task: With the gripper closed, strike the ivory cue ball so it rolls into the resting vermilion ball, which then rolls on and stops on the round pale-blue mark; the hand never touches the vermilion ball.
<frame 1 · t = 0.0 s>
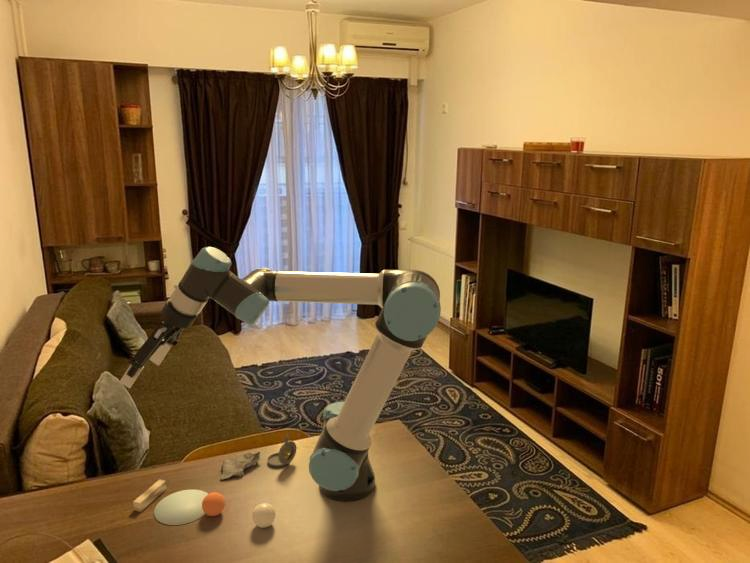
hand: (140, 372, 134), 36 cm above the table, tool tilted 35°, fingers open, 13 cm apart
cue ball: (263, 515, 134), on the table
pocket watch: (281, 463, 161), on the table
mineral specimen: (238, 471, 157), on the table
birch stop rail: (150, 499, 144), on the table
object ball: (213, 504, 138), on the table
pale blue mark: (183, 506, 141), on the table
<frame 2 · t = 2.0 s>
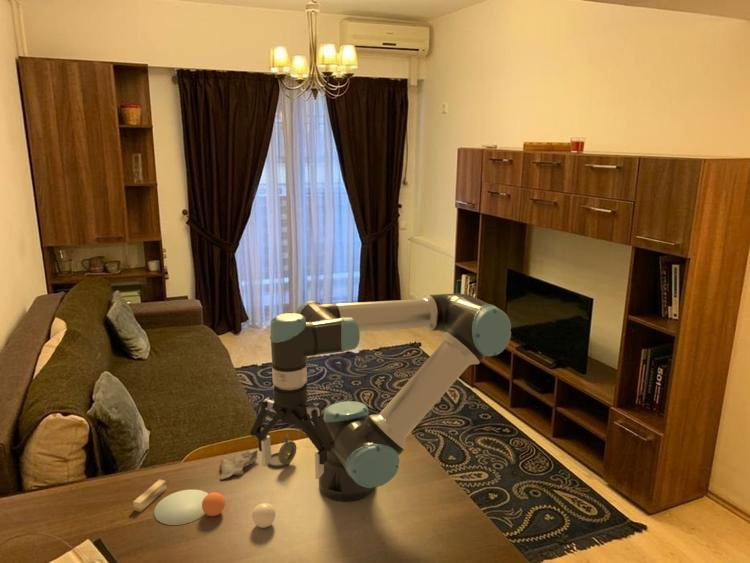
hand: (292, 469, 128), 17 cm above the table, tool pointing down, fingers open, 13 cm apart
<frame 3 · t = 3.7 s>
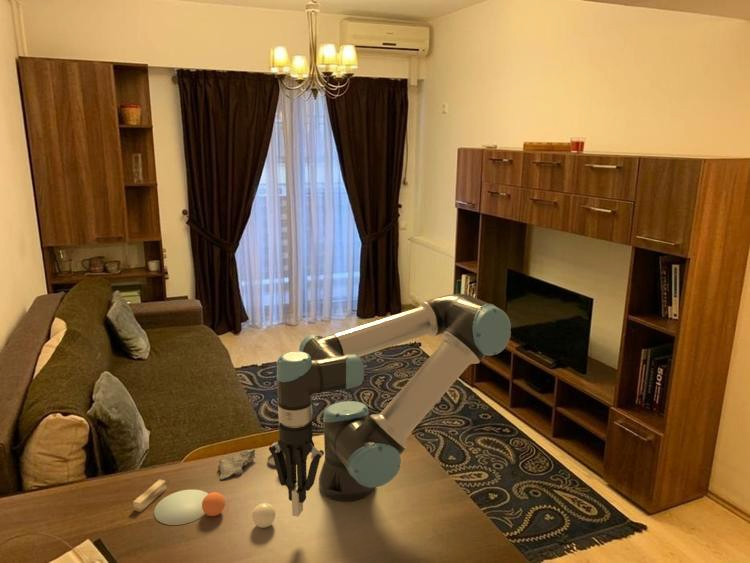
hand: (297, 512, 130), 6 cm above the table, tool pointing down, fingers closed
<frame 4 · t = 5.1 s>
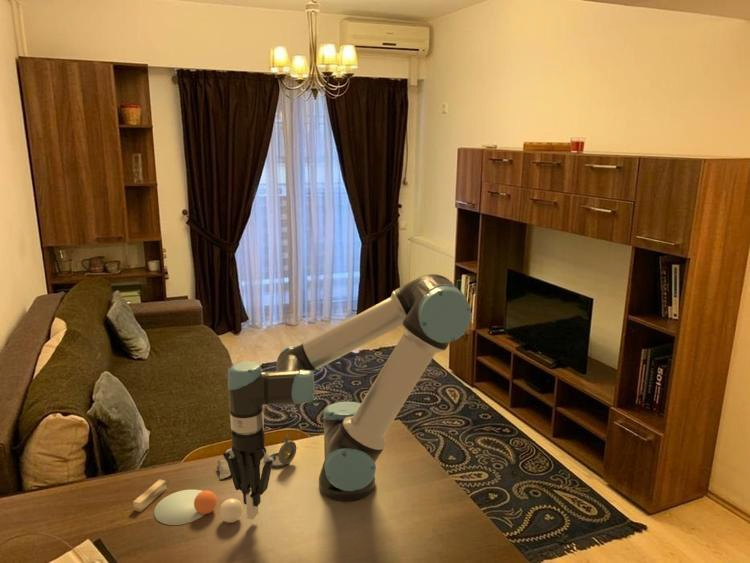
hand: (252, 515, 135), 2 cm above the table, tool pointing down, fingers closed
cue ball: (231, 510, 136), on the table
object ball: (205, 502, 139), on the table
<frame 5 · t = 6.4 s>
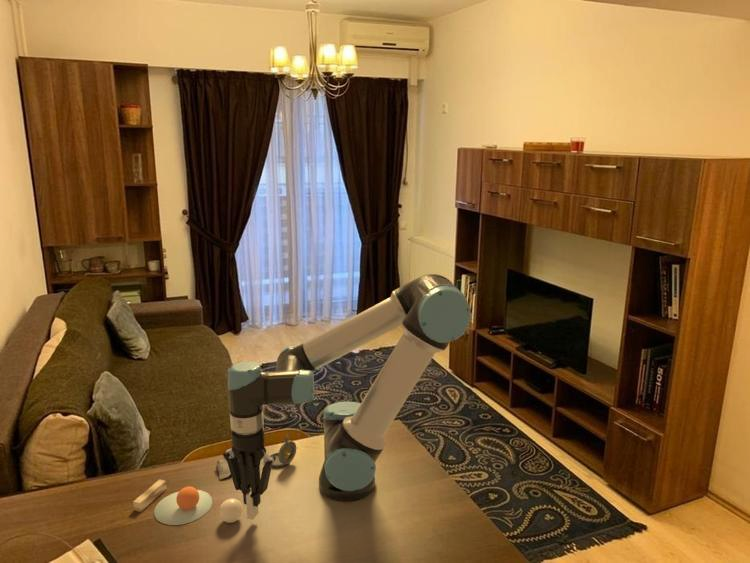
hand: (252, 515, 135), 2 cm above the table, tool pointing down, fingers closed
object ball: (187, 498, 140), on the table
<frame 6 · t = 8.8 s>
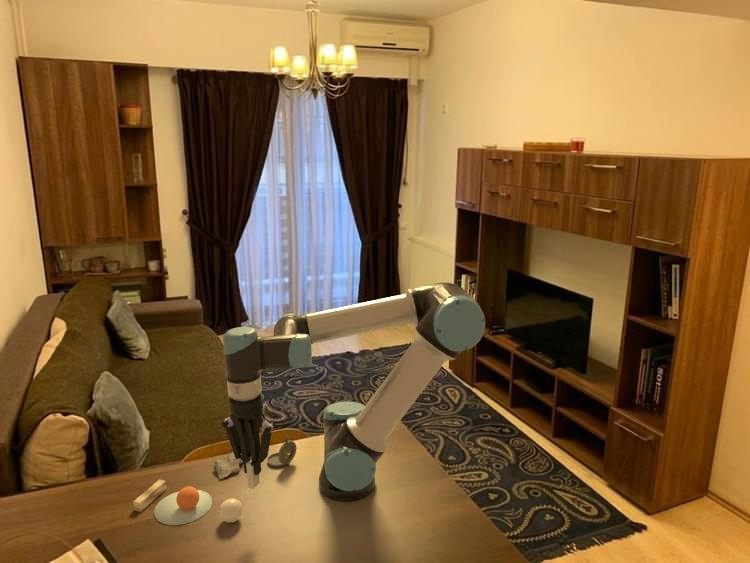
hand: (254, 485, 133), 10 cm above the table, tool pointing down, fingers closed
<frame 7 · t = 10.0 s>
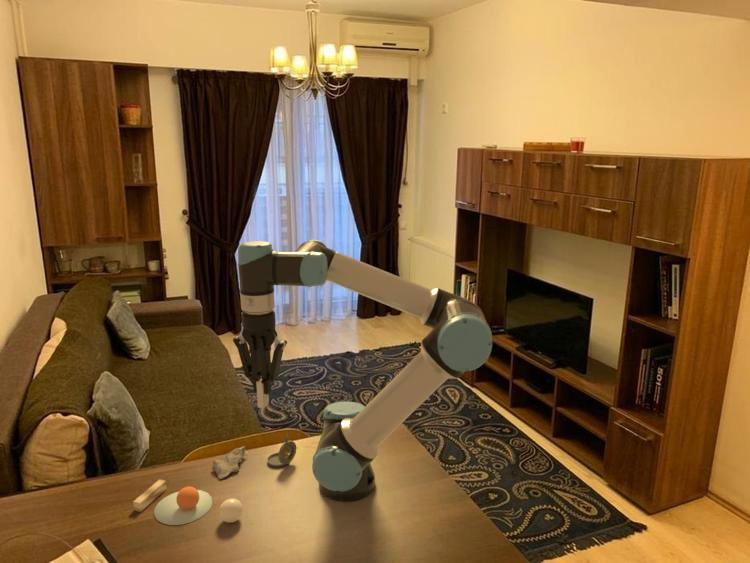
hand: (263, 405, 132), 29 cm above the table, tool pointing down, fingers closed
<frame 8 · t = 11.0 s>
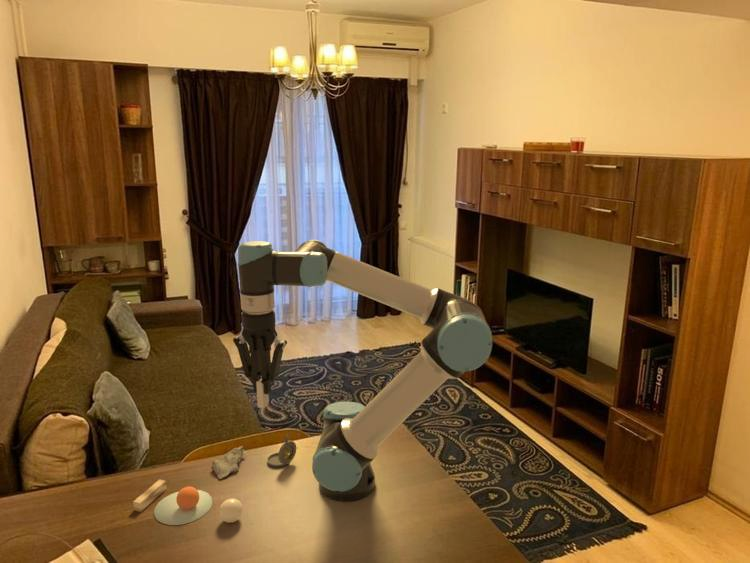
hand: (263, 405, 132), 29 cm above the table, tool pointing down, fingers closed
at the end: object ball 1.5 cm from the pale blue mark (horizontally); object ball never touched the robot; cue ball first touched object ball at 4.9 s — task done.
